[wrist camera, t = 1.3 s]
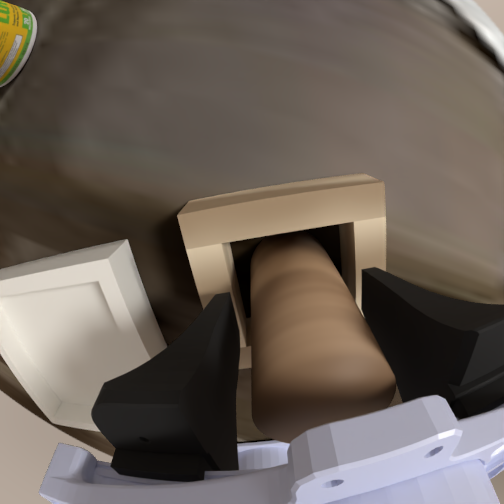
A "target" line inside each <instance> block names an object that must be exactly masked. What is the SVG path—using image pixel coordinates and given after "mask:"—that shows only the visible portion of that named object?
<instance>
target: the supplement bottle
mask: <svg viewBox="0 0 504 504" xmlns="http://www.w3.org/2000/svg"><path fill="white" fill-rule="evenodd" d="M36 33H37V22H36V18H35V16H34V15H33V14H32V13H31V12H30V11H28V10H26V9H23V8H21V7H18V6H15V5H12V4H9V3H6V2H3V1H0V87H2V86H4V85H6V84H7V83H9V82H10V81H11V80H12V79H13V78H14V77H15V76H16V75H17V74H18V73H19V72H20V70H21V69H22V67H23V66H24V64H25V63H26V61H27V59H28V57H29V55H30V53H31V51H32V48H33V45H34V42H35V38H36Z"/></svg>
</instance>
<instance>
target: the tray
mask: <svg viewBox="0 0 504 504" xmlns="http://www.w3.org/2000/svg"><path fill="white" fill-rule="evenodd" d="M166 348H167V344H166V342H165V340H164V337H163V335H162V333H161V330H160V328H159V325H158V323H157V321H156V318H155V316H154V313H153V310H152V308H151V305H150V303H149V300H148V297H147V295H146V292H145V289H144V287H143V284H142V281H141V278H140V275H139V273H138V270H137V267H136V264H135V261H134V258H133V255H132V252H131V249H130V246H129V243H128V239H125V240H121V241H116V242H111V243H107V244H102V245H98V246H93V247H89V248H85V249H80V250H76V251H72V252H67V253H63V254H59V255H55V256H51V257H46V258H42V259H38V260H34V261H30V262H26V263H22V264H19V265H15V266H11V267H7V268H3V269H0V354H1V355H2V357H3V358H4V360H5V362H6V363H7V365H8V366H9V368H10V369H11V371H12V372H13V373H14V375H15V376H16V378H17V379H18V381H19V382H20V383H21V385H22V386H23V387H24V389H25V390H26V391H27V393H28V394H29V395H30V397H31V398H32V399H33V400H34V402H35V403H36V404H37V405H38V407H39V408H40V409H41V410H42V412H43V413H44V414H45V415H46V416H47V417H48V419H49V420H50V421H51V422H52V423H54V424H58V425H63V426H68V427H74V428H80V429H86V430H92V431H99V432H100V430H99V429H98V428H97V426H96V425H95V424H94V422H93V420H92V417H91V411H92V408H93V406H94V403H95V401H96V399H97V397H98V395H99V392H100V390H101V388H102V386H103V384H104V382H107V381H109V380H112V379H114V378H116V377H118V376H121V375H123V374H125V373H127V372H129V371H131V370H133V369H135V368H137V367H139V366H140V365H142V364H144V363H145V362H147V361H149V360H150V359H152V358H153V357H154V356H156V355H157V354H159V353H160V352H161V351H163V350H164V349H166Z"/></svg>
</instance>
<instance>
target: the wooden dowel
mask: <svg viewBox="0 0 504 504" xmlns="http://www.w3.org/2000/svg"><path fill="white" fill-rule="evenodd" d="M250 272H251V381H252V418H253V421H254V424H255V425H256V427H257V428H258V429H259V430H260V431H261V432H262V433H263V434H265V435H266V436H268V437H270V438H272V439H274V440H277V441H280V442H284V443H288V444H290V443H291V441H292V440H293V439H295V438H296V437H298V436H299V435H301V434H302V433H304V432H305V431H307V430H308V429H311V428H314V427H317V426H320V425H323V424H326V423H330V422H335V421H339V420H344V419H348V418H352V417H356V416H360V415H364V414H368V413H372V412H375V411H379V410H382V409H386V408H387V407H388V406H389V405H390V403H391V401H392V399H393V397H394V394H395V391H396V379H395V376H394V374H393V372H392V370H391V368H390V366H389V364H388V362H387V360H386V358H385V356H384V354H383V352H382V350H381V348H380V346H379V344H378V342H377V341H376V339H375V337H374V335H373V333H372V331H371V329H370V327H369V326H368V324H367V322H366V320H365V318H364V316H363V315H362V313H361V311H360V309H359V307H358V306H357V304H356V302H355V300H354V298H353V297H352V295H351V293H350V291H349V290H348V288H347V286H346V284H345V283H344V281H343V279H342V277H341V276H340V274H339V272H338V271H337V269H336V267H335V266H334V264H333V262H332V260H331V259H330V257H329V255H328V254H327V252H326V250H325V249H324V247H323V246H322V244H321V243H320V242H319V240H318V239H316V238H315V237H314V236H313V235H311V234H309V233H307V232H305V231H301V230H299V231H293V232H286V233H280V234H274V235H269V236H267V237H266V238H265V239H263V240H262V241H261V242H260V243H259V245H258V246H257V247H256V249H255V251H254V253H253V255H252V258H251V267H250Z"/></svg>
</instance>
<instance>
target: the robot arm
mask: <svg viewBox="0 0 504 504" xmlns="http://www.w3.org/2000/svg"><path fill="white" fill-rule="evenodd" d="M361 271H362V294H361V310H362V313H363V315H364V318H365V320H366V322H367V324H368V326H369V327H370V329H371V331H372V333H373V335H374V337H375V339H376V341H377V342H378V344H379V346H380V348H381V350H382V352H383V354H384V356H385V358H386V360H387V362H388V364H389V366H390V368H391V370H392V372H393V374H394V376H395V379H396V384H397V386H398V389H399V392H400V395H401V398H402V401H403V403H402V404H399V405H395V406H392V407H389V408H386V409H382V410H379V411H375V412H372V413H368V414H364V415H360V416H356V417H352V418H348V419H344V420H339V421H335V422H330V423H326V424H323V425H320V426H317V427H314V428H311V429H308V430H307V431H305V432H304V433H302V434H301V435H299V436H298V437H296V438H295V439H293V440H292V441H291V443H290V444H288V443H284V442H280V441H277V440H272V441H263V442H253V443H240V444H237V428H236V390H237V380H238V370H239V360H240V330H239V326H238V322H237V318H236V314H235V310H234V306H233V302H232V298H231V294H230V292H226V293H220V294H215V295H214V297H213V298H212V299H211V301H210V302H209V303H208V304H207V306H206V307H205V308H204V310H203V311H202V312H201V313H200V315H199V316H198V317H197V318H196V319H195V321H194V322H193V323H192V324H191V325H190V326H189V327H188V328H187V329H186V330H185V331H184V333H183V334H181V335H180V336H179V337H178V338H177V339H176V340H175V341H174V342H173V343H172V344H170V345H169V346H168V347H167V348H166V349H164V350H163V351H161V352H160V353H159V354H157V355H156V356H154V357H153V358H152V359H150V360H149V361H147V362H145V363H144V364H142V365H140V366H139V367H137V368H135V369H133V370H131V371H129V372H127V373H125V374H123V375H121V376H118V377H116V378H114V379H112V380H109V381H107V382H104V384H103V386H102V388H101V390H100V392H99V395H98V397H97V399H96V401H95V403H94V406H93V408H92V411H91V417H92V420H93V422H94V424H95V425H96V426H97V428H98V429H99V430H100V432H101V433H102V434H103V435H104V436H105V437H106V438H107V439H108V440H109V442H110V443H111V444H112V445H113V446H114V447H115V448H116V449H115V453H114V456H113V459H112V462H111V463H108V462H102V461H97V459H96V458H95V457H94V456H93V455H92V454H91V453H90V452H89V451H87V450H85V449H83V448H80V447H77V446H72V445H67V444H63V443H58V446H57V448H56V450H55V453H54V455H53V458H52V460H51V462H50V465H49V467H48V469H47V472H46V474H45V477H44V480H43V482H42V485H41V487H40V490H39V494H40V495H41V496H42V497H44V498H45V499H47V500H48V501H50V502H51V503H53V504H500V502H499V500H498V498H497V495H496V493H495V490H494V488H493V486H492V483H491V481H490V479H491V478H493V477H494V476H496V475H497V474H498V473H500V472H501V471H502V470H504V305H498V304H482V303H474V302H468V301H463V300H458V299H453V298H450V297H446V296H443V295H440V294H436V293H433V292H430V291H428V290H425V289H423V288H420V287H418V286H416V285H413V284H411V283H409V282H407V281H405V280H402V279H400V278H398V277H396V276H394V275H392V274H390V273H388V272H386V271H384V270H382V269H379V268H377V267H371V268H366V269H361Z"/></svg>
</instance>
